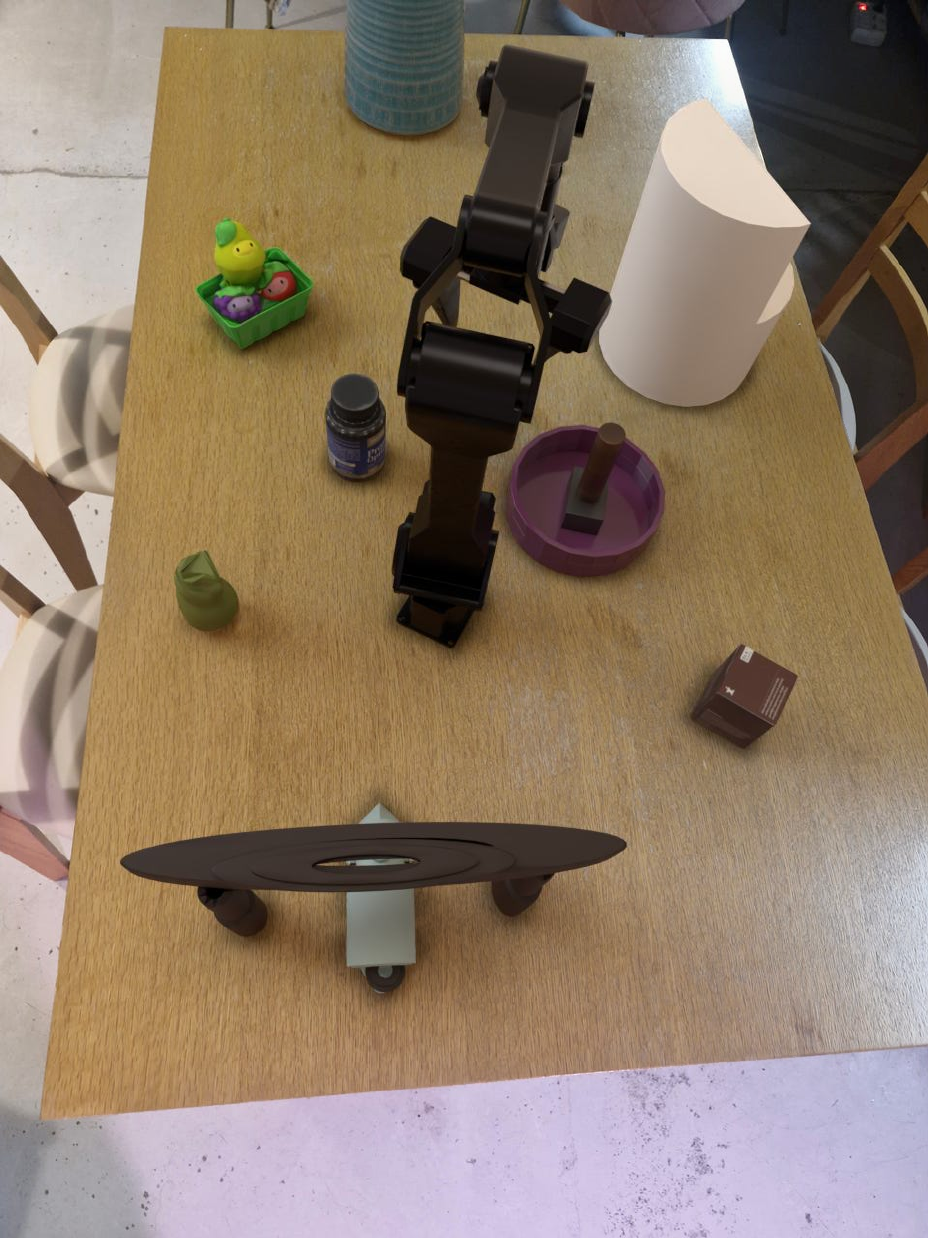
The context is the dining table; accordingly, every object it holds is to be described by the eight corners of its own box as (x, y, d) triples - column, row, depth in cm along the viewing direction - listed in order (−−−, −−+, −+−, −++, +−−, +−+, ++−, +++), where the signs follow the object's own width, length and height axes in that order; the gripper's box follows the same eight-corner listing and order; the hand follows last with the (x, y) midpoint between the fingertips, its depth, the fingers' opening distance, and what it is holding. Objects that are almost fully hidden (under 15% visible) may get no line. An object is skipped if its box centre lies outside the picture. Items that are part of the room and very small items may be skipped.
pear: (176, 603, 83) (152, 553, 74) (227, 581, 85) (210, 529, 76) (199, 650, 81) (177, 603, 72) (251, 626, 83) (236, 578, 74)
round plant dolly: (128, 736, 56) (617, 726, 59) (191, 808, 75) (559, 798, 78) (96, 997, 49) (650, 969, 53) (174, 1004, 68) (577, 983, 72)
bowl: (620, 602, 88) (632, 582, 84) (480, 536, 90) (484, 513, 85) (673, 488, 95) (686, 464, 90) (541, 428, 96) (548, 402, 92)
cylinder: (635, 420, 98) (713, 241, 76) (575, 302, 105) (629, 107, 83) (775, 389, 102) (888, 210, 80) (708, 277, 109) (794, 84, 87)
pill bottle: (377, 488, 91) (377, 423, 81) (322, 476, 91) (315, 409, 81) (391, 443, 94) (392, 374, 84) (337, 431, 94) (332, 361, 84)
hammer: (597, 535, 90) (629, 462, 79) (560, 527, 90) (587, 453, 79) (603, 489, 93) (636, 412, 81) (567, 482, 93) (595, 404, 81)
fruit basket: (239, 362, 96) (222, 284, 86) (194, 314, 99) (173, 233, 89) (320, 317, 100) (313, 238, 90) (275, 273, 103) (264, 191, 93)
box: (743, 752, 82) (775, 728, 75) (687, 718, 83) (714, 692, 76) (767, 702, 84) (800, 675, 78) (713, 670, 85) (741, 641, 79)
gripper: (655, 200, 72) (610, 334, 86) (459, 119, 74) (446, 263, 88) (607, 282, 67) (567, 410, 81) (398, 193, 69) (395, 333, 83)
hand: (493, 350), depth 84 cm, fingers open, 9 cm apart
